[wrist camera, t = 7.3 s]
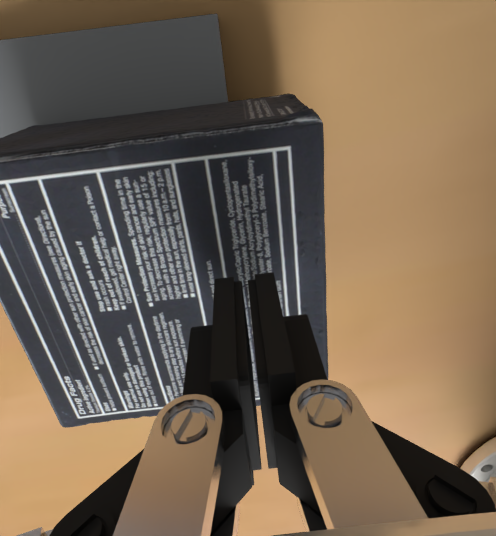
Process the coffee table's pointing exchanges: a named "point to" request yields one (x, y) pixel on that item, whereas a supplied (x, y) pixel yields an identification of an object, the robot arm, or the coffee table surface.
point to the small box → (154, 242)
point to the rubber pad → (110, 72)
